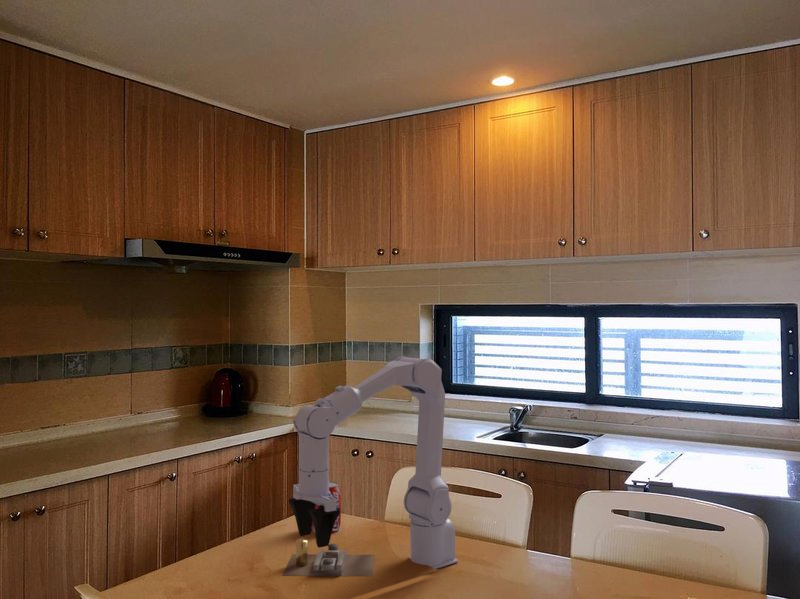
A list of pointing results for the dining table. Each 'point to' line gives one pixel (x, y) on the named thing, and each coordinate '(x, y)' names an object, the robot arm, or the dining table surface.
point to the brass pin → (301, 552)
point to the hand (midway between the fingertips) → (313, 540)
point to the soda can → (337, 496)
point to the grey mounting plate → (332, 564)
